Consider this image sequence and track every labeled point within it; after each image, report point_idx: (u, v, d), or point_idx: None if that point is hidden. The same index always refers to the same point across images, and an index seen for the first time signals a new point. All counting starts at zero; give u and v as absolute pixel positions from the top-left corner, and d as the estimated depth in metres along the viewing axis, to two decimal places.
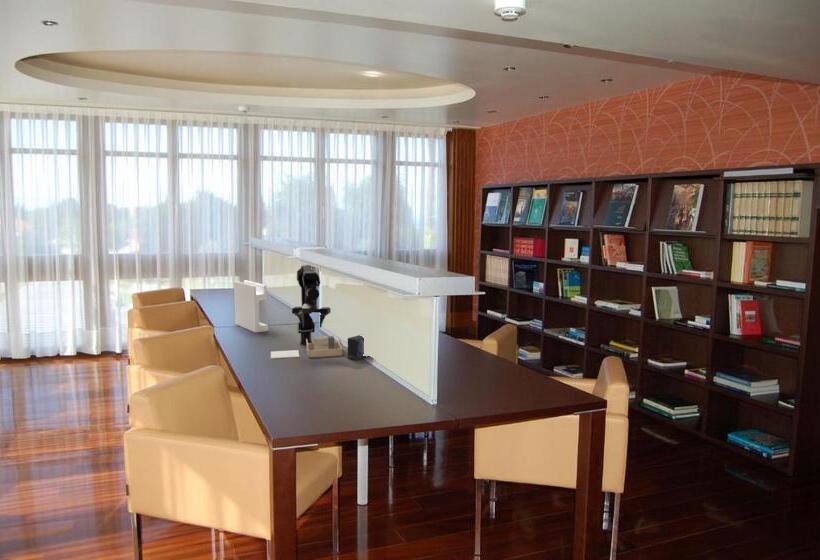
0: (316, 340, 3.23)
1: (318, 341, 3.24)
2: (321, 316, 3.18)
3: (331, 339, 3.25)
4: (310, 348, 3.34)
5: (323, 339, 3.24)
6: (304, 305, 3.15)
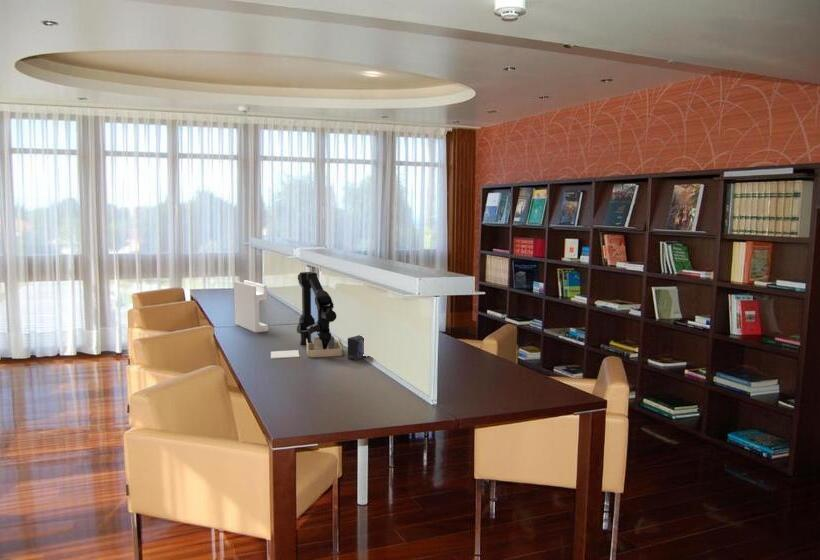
0: (316, 340, 3.23)
1: (318, 341, 3.24)
2: (320, 338, 3.22)
3: (331, 339, 3.25)
4: (310, 348, 3.34)
5: None
6: (311, 325, 3.26)
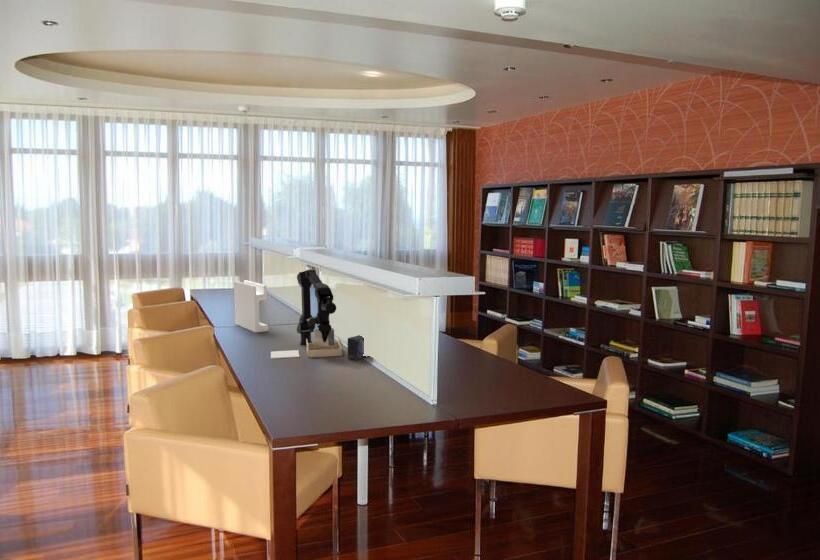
0: (316, 332, 3.23)
1: (318, 333, 3.23)
2: (319, 330, 3.22)
3: (331, 331, 3.24)
4: (310, 348, 3.34)
5: None
6: (311, 317, 3.26)
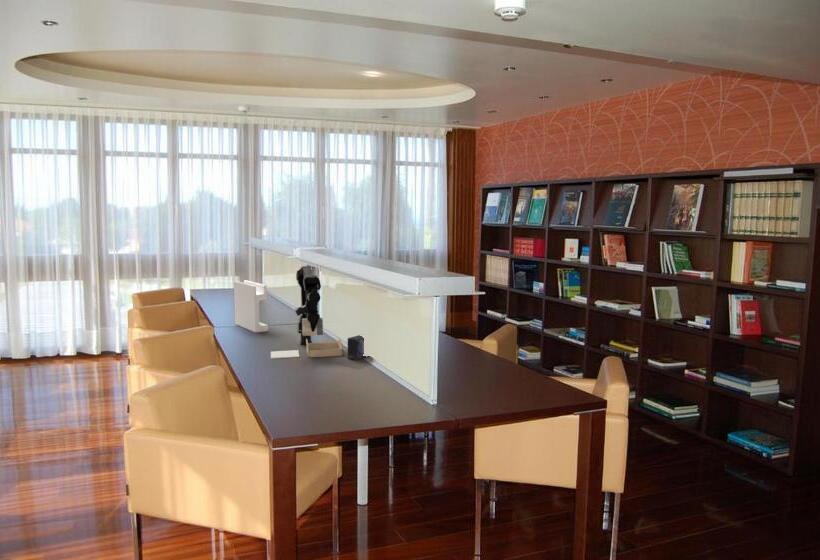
0: (304, 322, 3.21)
1: (306, 323, 3.21)
2: (308, 320, 3.20)
3: (319, 321, 3.23)
4: (310, 348, 3.34)
5: None
6: None
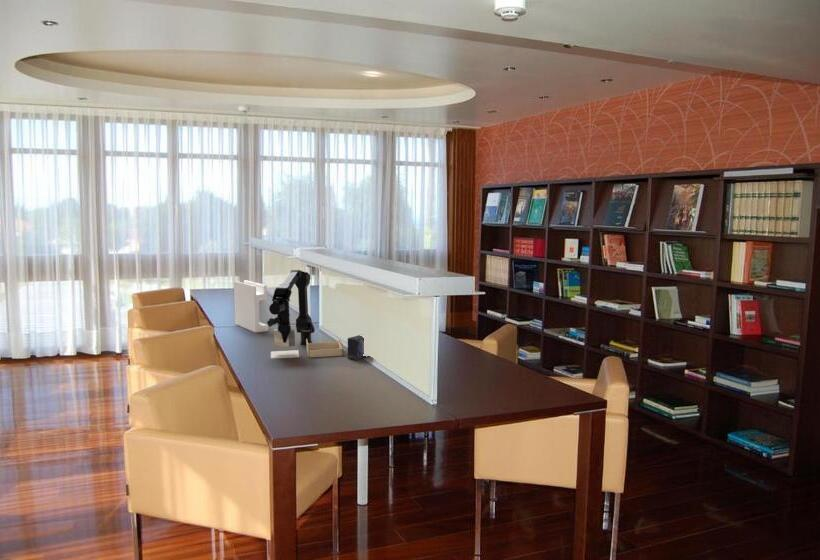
0: (276, 333, 3.19)
1: (278, 334, 3.19)
2: (279, 331, 3.17)
3: (291, 332, 3.20)
4: (310, 348, 3.34)
5: None
6: (271, 318, 3.21)
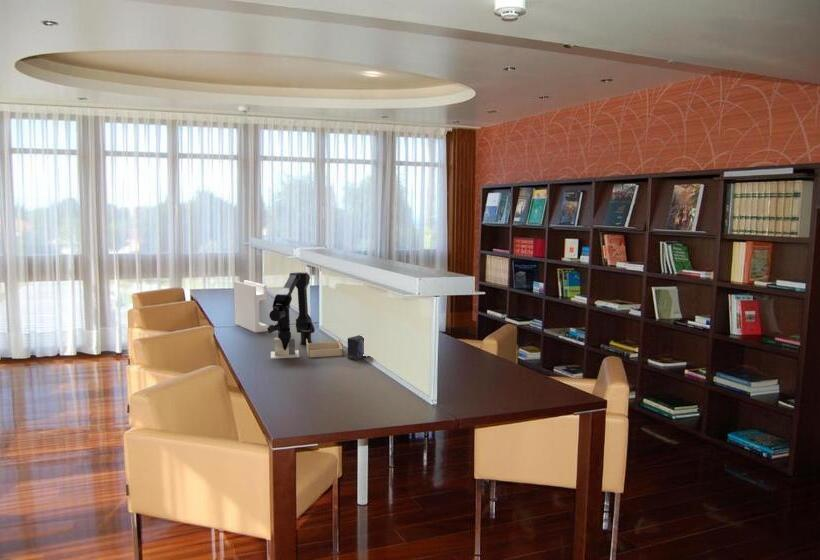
0: (276, 341, 3.19)
1: (278, 342, 3.19)
2: (279, 338, 3.16)
3: (291, 340, 3.21)
4: (310, 348, 3.34)
5: None
6: (272, 324, 3.22)
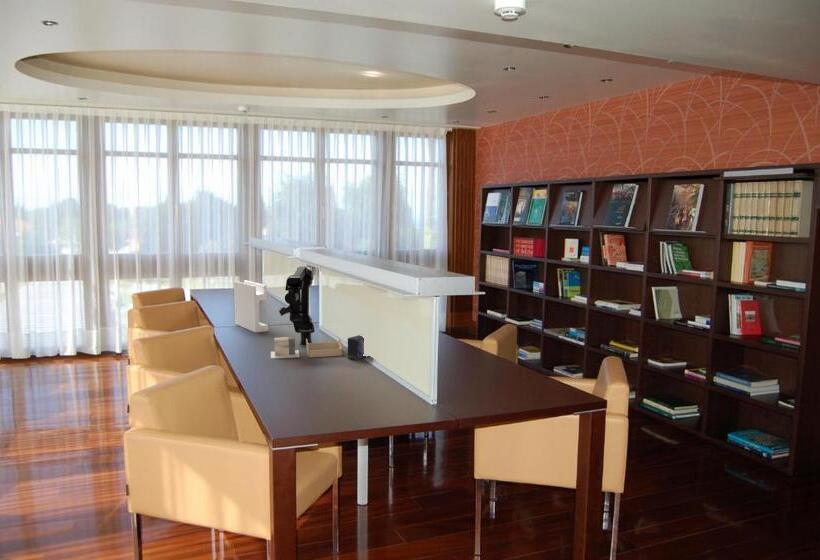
0: (276, 341, 3.19)
1: (278, 342, 3.19)
2: (291, 321, 3.20)
3: (291, 340, 3.21)
4: (310, 348, 3.34)
5: (283, 340, 3.20)
6: (283, 307, 3.26)
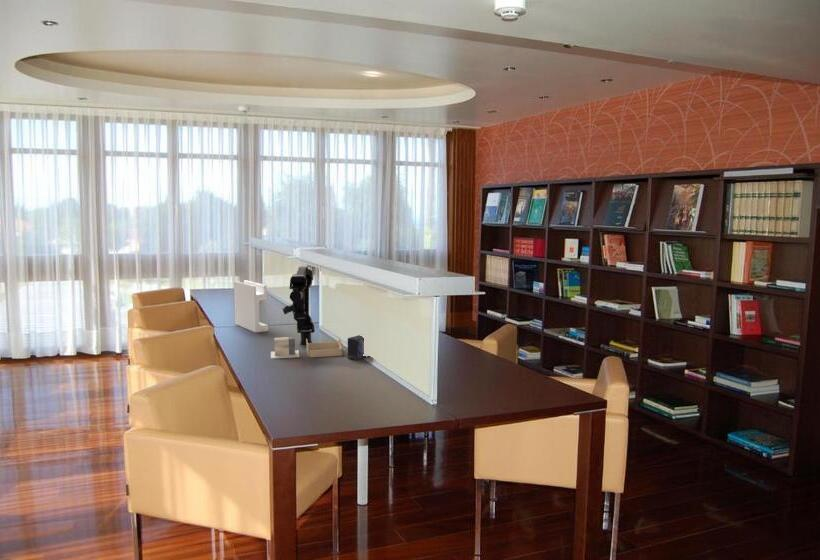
0: (276, 341, 3.19)
1: (278, 342, 3.19)
2: (295, 319, 3.21)
3: (291, 340, 3.21)
4: (310, 348, 3.34)
5: (283, 340, 3.20)
6: (287, 305, 3.27)
